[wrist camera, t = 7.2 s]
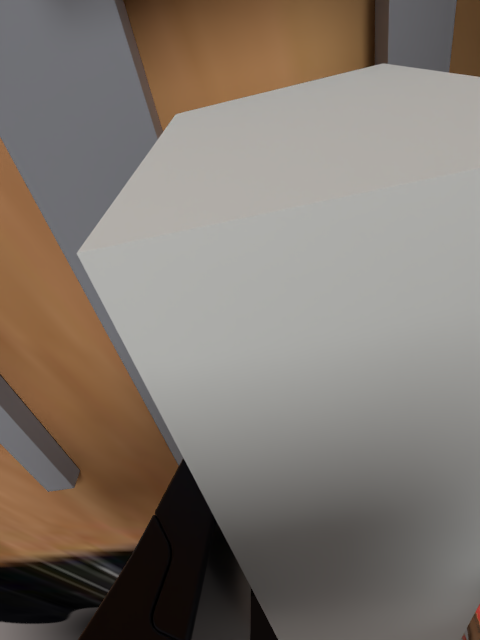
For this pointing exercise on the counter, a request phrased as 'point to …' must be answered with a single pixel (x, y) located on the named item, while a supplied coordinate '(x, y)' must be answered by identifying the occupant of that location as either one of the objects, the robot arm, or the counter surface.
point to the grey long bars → (115, 145)
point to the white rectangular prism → (319, 339)
